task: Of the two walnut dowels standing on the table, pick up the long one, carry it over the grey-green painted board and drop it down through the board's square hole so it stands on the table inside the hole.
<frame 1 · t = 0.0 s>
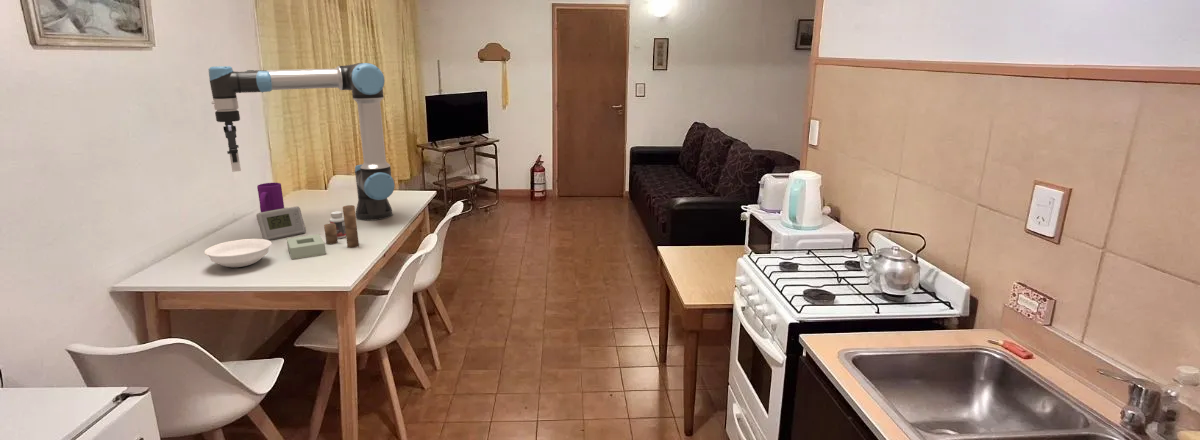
hand: (236, 168, 235), 28 cm above the table, fingers open, 13 cm apart
mug: (271, 220, 272), on the table
digital clock: (283, 237, 248), on the table
pill bottle: (339, 237, 247), on the table
long dowel: (353, 246, 234), on the table
hole board: (306, 251, 229), on the table
bowl: (241, 265, 215), on the table
short dowel: (332, 242, 239), on the table
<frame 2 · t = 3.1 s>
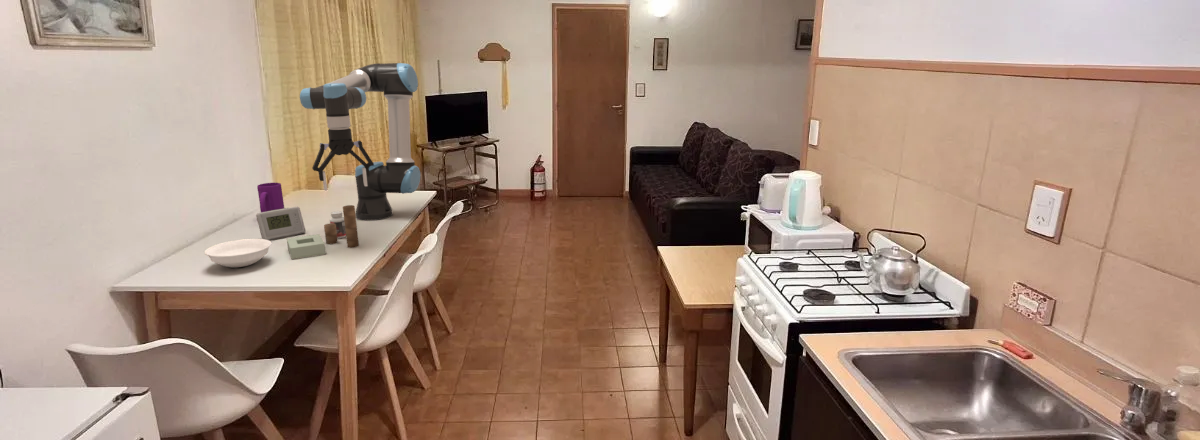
hand: (345, 187, 229), 22 cm above the table, fingers open, 13 cm apart
nothing on the table moved.
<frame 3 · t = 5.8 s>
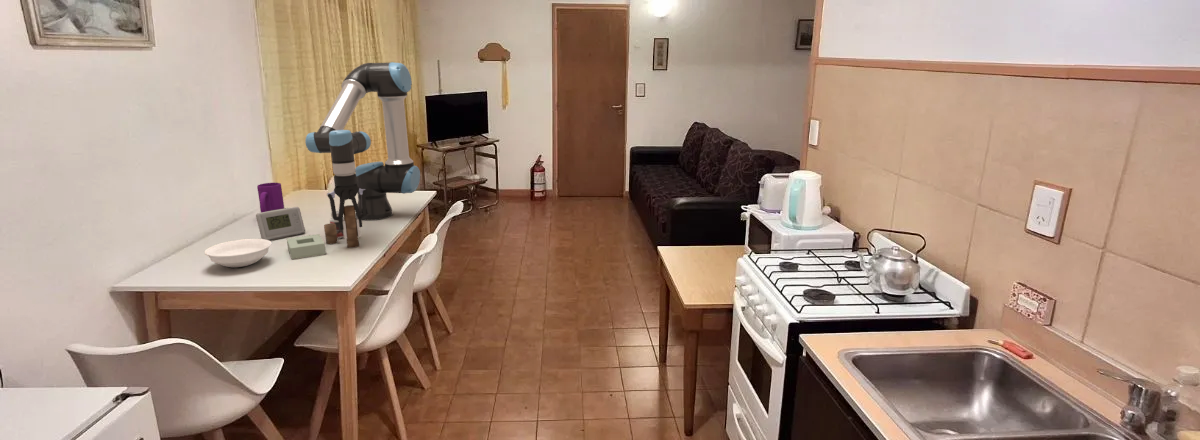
hand: (352, 236, 234), 4 cm above the table, fingers closed on long dowel, 4 cm apart
long dowel: (353, 246, 234), on the table, touching gripper
everything else where it was.
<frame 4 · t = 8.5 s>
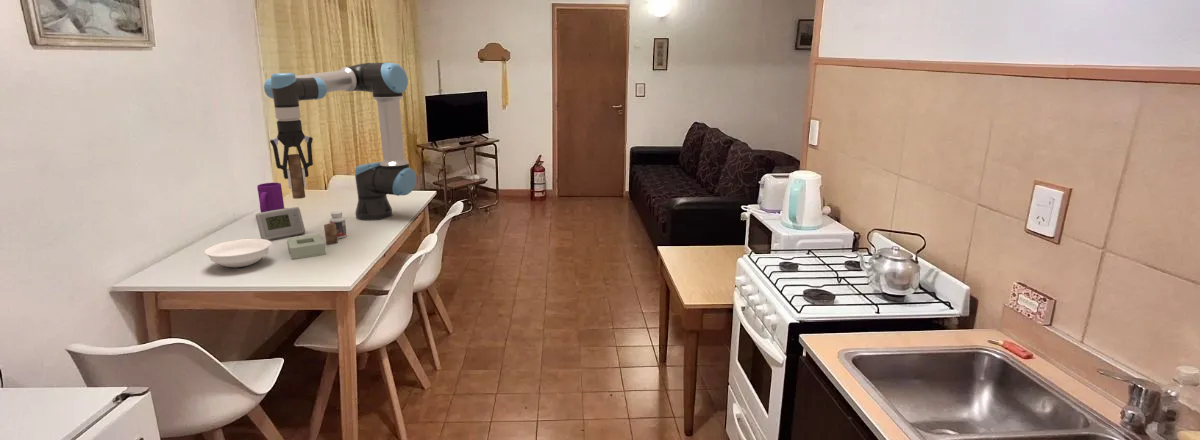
hand: (297, 186, 222), 24 cm above the table, fingers closed on long dowel, 4 cm apart
long dowel: (299, 197, 223), point 20 cm above the table, touching gripper
everything else where it was.
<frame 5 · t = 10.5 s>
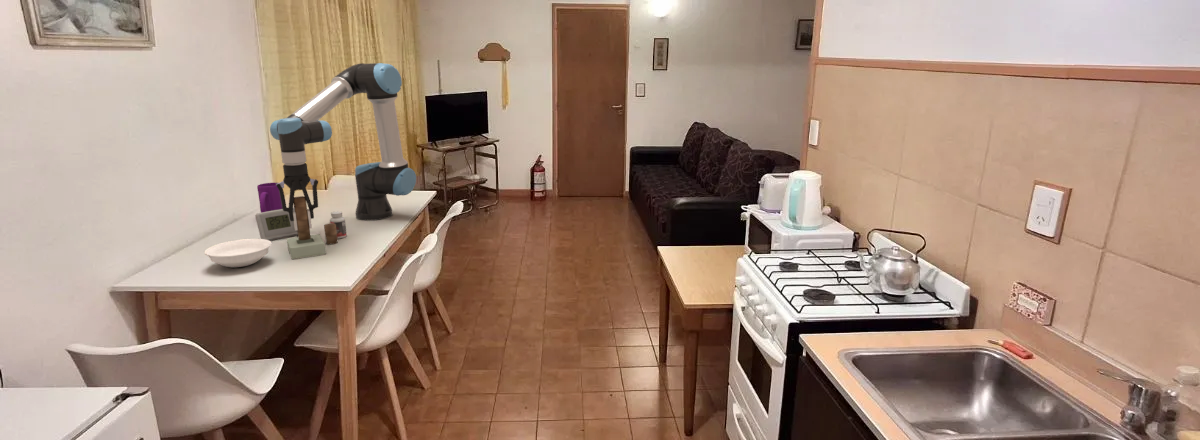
hand: (303, 228, 226), 9 cm above the table, fingers closed on long dowel, 4 cm apart
long dowel: (304, 238, 227), point 5 cm above the table, touching gripper
everything else where it was.
when the fingers open (6 cm above the table, at t = 11.6 s): long dowel drops 2 cm, resting in hole board.
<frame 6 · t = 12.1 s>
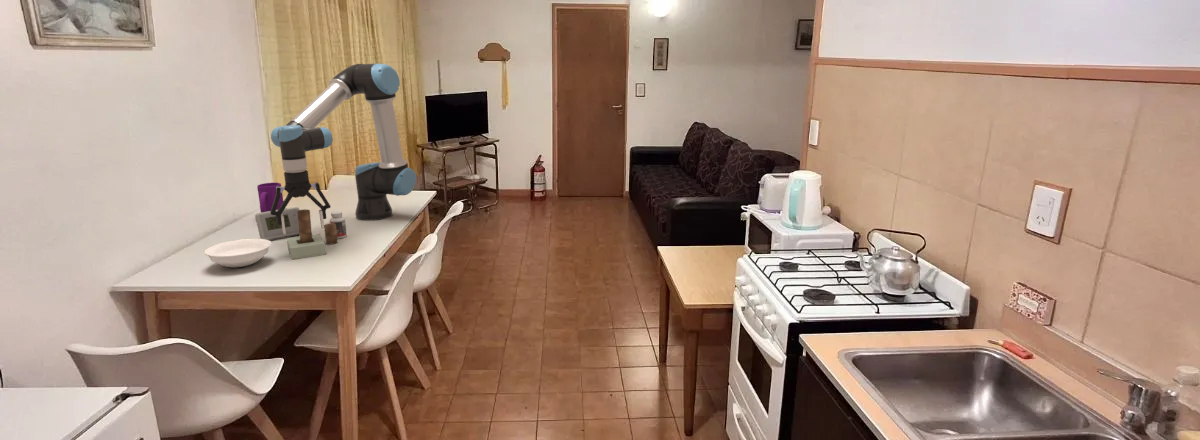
hand: (303, 230, 227), 8 cm above the table, fingers open, 12 cm apart
long dowel: (307, 251, 229), resting in hole board
everything else where it was.
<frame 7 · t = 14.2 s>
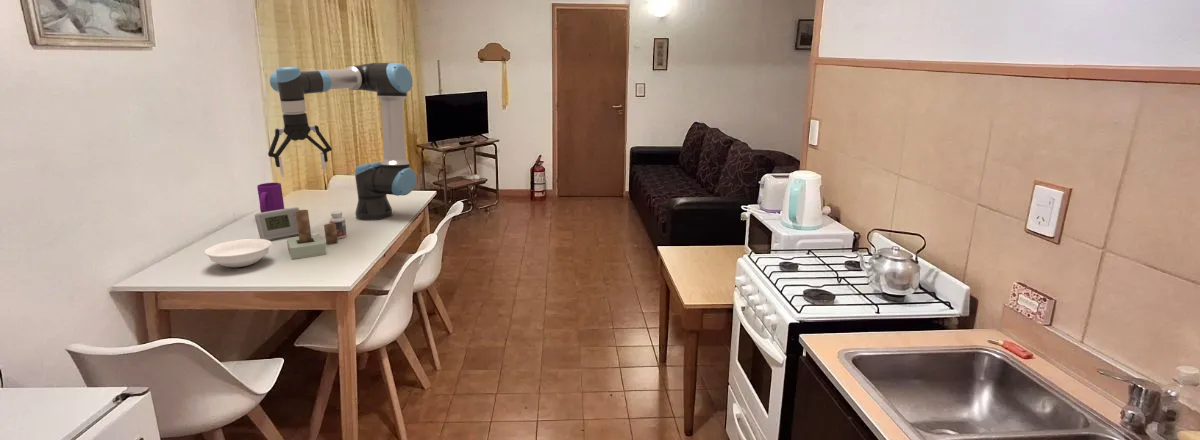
hand: (303, 173, 225), 28 cm above the table, fingers open, 13 cm apart
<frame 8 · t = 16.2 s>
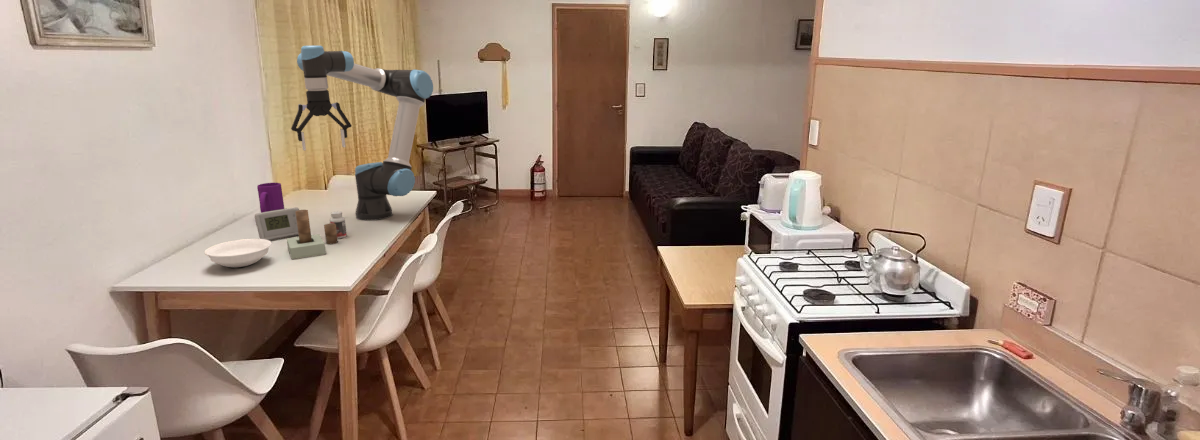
hand: (324, 148, 235), 35 cm above the table, fingers open, 13 cm apart
at the end: long dowel 0.1 cm off-centre on the hole board, point 0.0 cm above the hole board's base; long dowel tilted 0°; the gripper is holding nothing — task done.
